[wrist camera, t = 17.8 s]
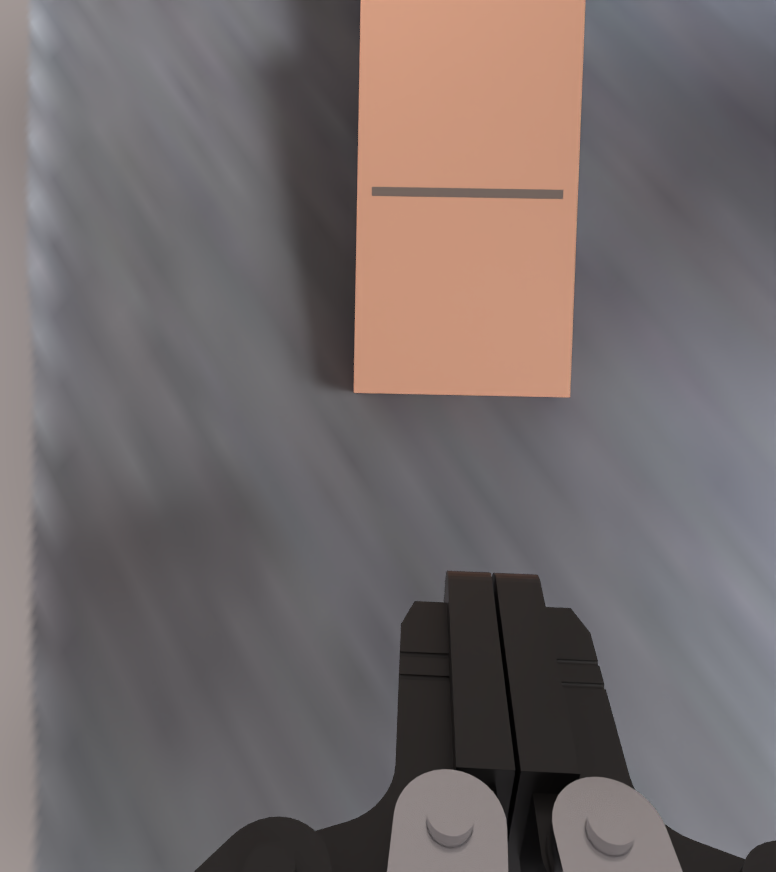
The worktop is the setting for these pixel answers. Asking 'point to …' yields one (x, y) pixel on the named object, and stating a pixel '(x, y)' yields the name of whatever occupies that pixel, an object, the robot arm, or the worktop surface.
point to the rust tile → (467, 196)
